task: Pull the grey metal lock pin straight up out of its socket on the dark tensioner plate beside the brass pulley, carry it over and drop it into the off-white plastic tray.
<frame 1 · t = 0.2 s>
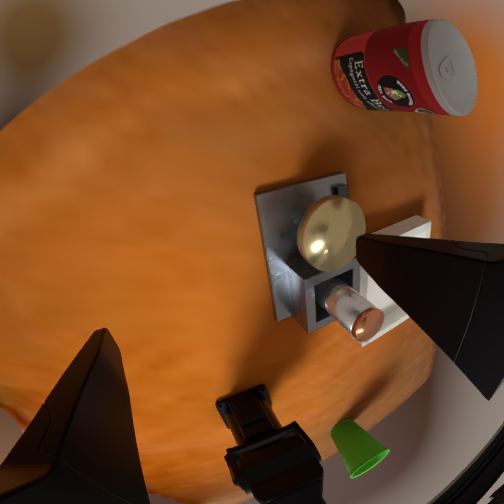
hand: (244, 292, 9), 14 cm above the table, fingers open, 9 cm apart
cup: (340, 426, 48), on the table
canned food: (359, 73, 22), on the table
lock pin: (314, 279, 28), point 1 cm above the table, touching tensioner plate
tensioner plate: (308, 248, 27), on the table
tray: (385, 277, 34), on the table
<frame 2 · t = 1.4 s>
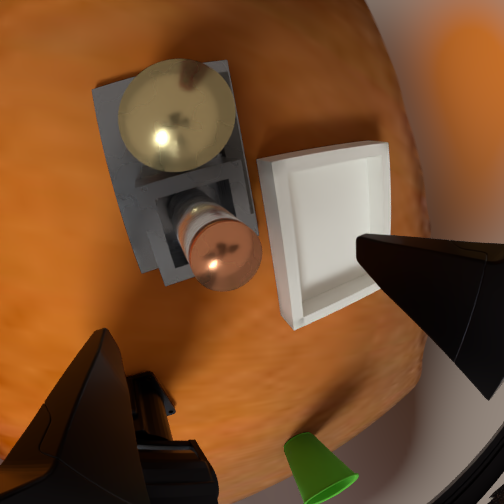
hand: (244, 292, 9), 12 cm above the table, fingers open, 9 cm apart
cup: (297, 440, 38), on the table
lock pin: (189, 210, 19), point 1 cm above the table, touching tensioner plate
tensioner plate: (177, 163, 18), on the table
tray: (327, 227, 25), on the table
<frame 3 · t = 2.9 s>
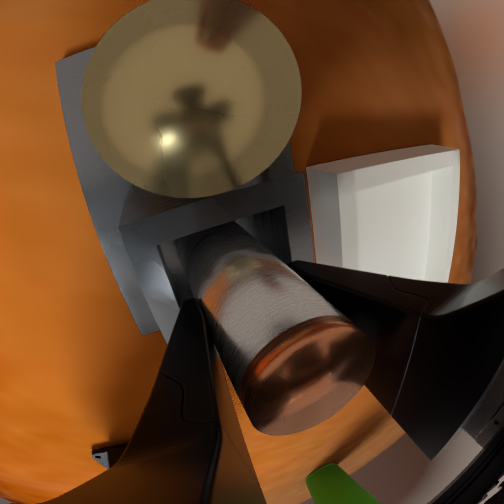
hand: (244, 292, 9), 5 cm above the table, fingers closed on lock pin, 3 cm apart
cup: (319, 471, 32), on the table
lock pin: (211, 246, 13), point 1 cm above the table, touching gripper, tensioner plate
tensioner plate: (190, 174, 12), on the table
tray: (384, 256, 18), on the table
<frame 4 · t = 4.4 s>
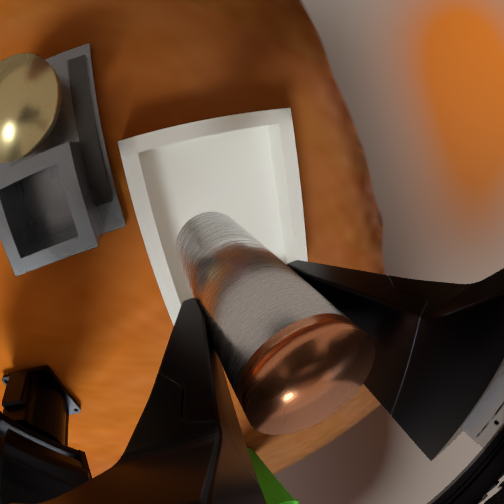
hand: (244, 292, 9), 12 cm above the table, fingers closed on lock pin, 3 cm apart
cup: (236, 455, 34), on the table
lock pin: (209, 245, 13), point 8 cm above the table, touching gripper
tensioner plate: (43, 154, 14), on the table
tray: (219, 217, 21), on the table
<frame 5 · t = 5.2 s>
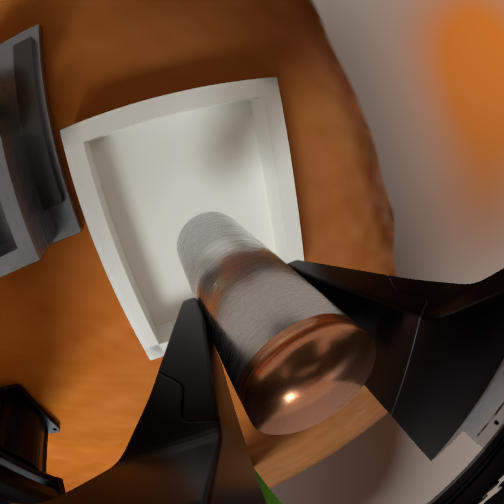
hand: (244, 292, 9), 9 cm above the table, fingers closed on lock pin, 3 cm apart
cup: (233, 470, 31), on the table
lock pin: (210, 245, 13), point 5 cm above the table, touching gripper
tray: (193, 216, 17), on the table
when the fingers open (6 cm above the table, at t = 5.8 s): lock pin drops 2 cm, resting on tray.
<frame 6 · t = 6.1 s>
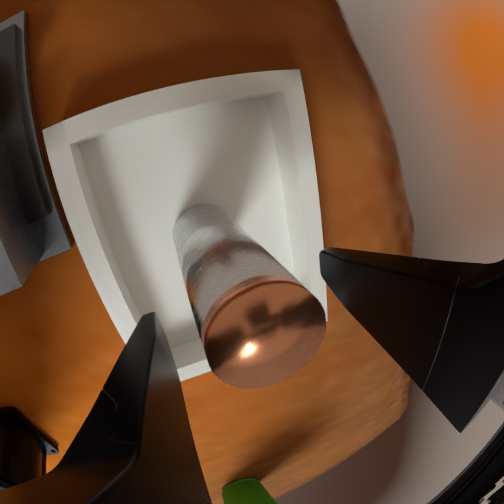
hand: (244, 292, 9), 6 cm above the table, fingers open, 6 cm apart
cup: (239, 484, 29), on the table
lock pin: (203, 233, 14), point 1 cm above the table, touching tray
tray: (201, 230, 15), on the table
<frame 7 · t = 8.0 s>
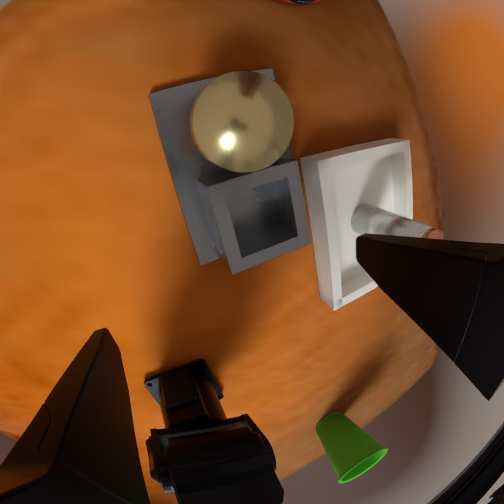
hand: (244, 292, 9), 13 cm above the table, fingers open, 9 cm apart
cup: (328, 420, 41), on the table
lock pin: (362, 218, 26), point 1 cm above the table, touching tray
tensioner plate: (232, 163, 20), on the table
tray: (358, 217, 27), on the table
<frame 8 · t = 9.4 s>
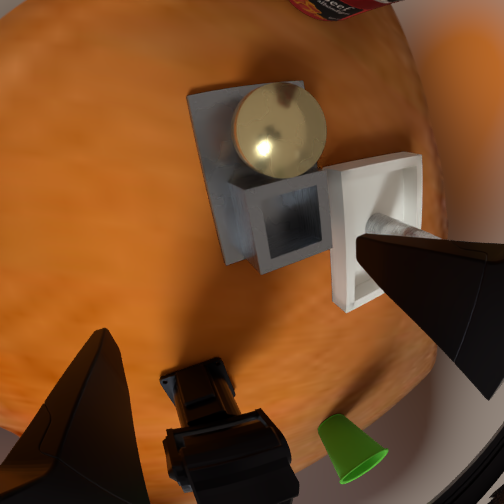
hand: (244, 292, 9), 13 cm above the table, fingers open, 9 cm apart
cup: (329, 422, 42), on the table
lock pin: (375, 226, 27), point 1 cm above the table, touching tray
tensioner plate: (261, 168, 21), on the table
tray: (371, 225, 28), on the table
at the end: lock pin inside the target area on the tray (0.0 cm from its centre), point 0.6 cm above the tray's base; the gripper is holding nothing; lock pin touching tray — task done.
